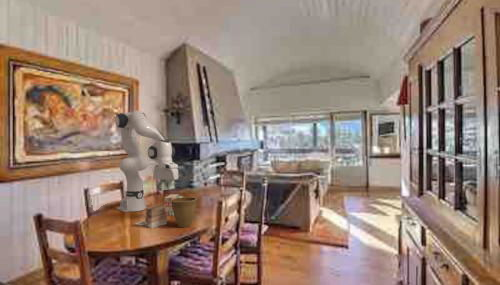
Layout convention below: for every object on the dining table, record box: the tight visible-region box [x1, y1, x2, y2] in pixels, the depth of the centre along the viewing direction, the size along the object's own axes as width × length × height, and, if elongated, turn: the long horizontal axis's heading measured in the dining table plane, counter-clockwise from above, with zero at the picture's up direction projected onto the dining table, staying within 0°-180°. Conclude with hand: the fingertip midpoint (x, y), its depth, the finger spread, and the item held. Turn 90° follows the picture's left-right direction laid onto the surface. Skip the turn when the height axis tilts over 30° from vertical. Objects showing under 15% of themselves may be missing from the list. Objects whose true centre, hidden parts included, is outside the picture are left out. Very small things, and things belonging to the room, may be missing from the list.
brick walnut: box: [145, 204, 165, 218], centre depth 193 cm, size 5×10×5 cm, turn 145°
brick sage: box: [156, 180, 176, 191], centre depth 205 cm, size 5×10×5 cm, turn 144°
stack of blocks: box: [163, 194, 184, 216], centre depth 228 cm, size 21×6×12 cm, turn 172°
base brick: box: [144, 214, 168, 229], centre depth 193 cm, size 6×11×6 cm, turn 144°
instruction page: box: [133, 220, 145, 226], centre depth 199 cm, size 7×9×1 cm
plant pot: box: [171, 196, 198, 228], centre depth 191 cm, size 15×15×16 cm
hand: (165, 186), depth 205 cm, fingers closed on brick sage, 5 cm apart
